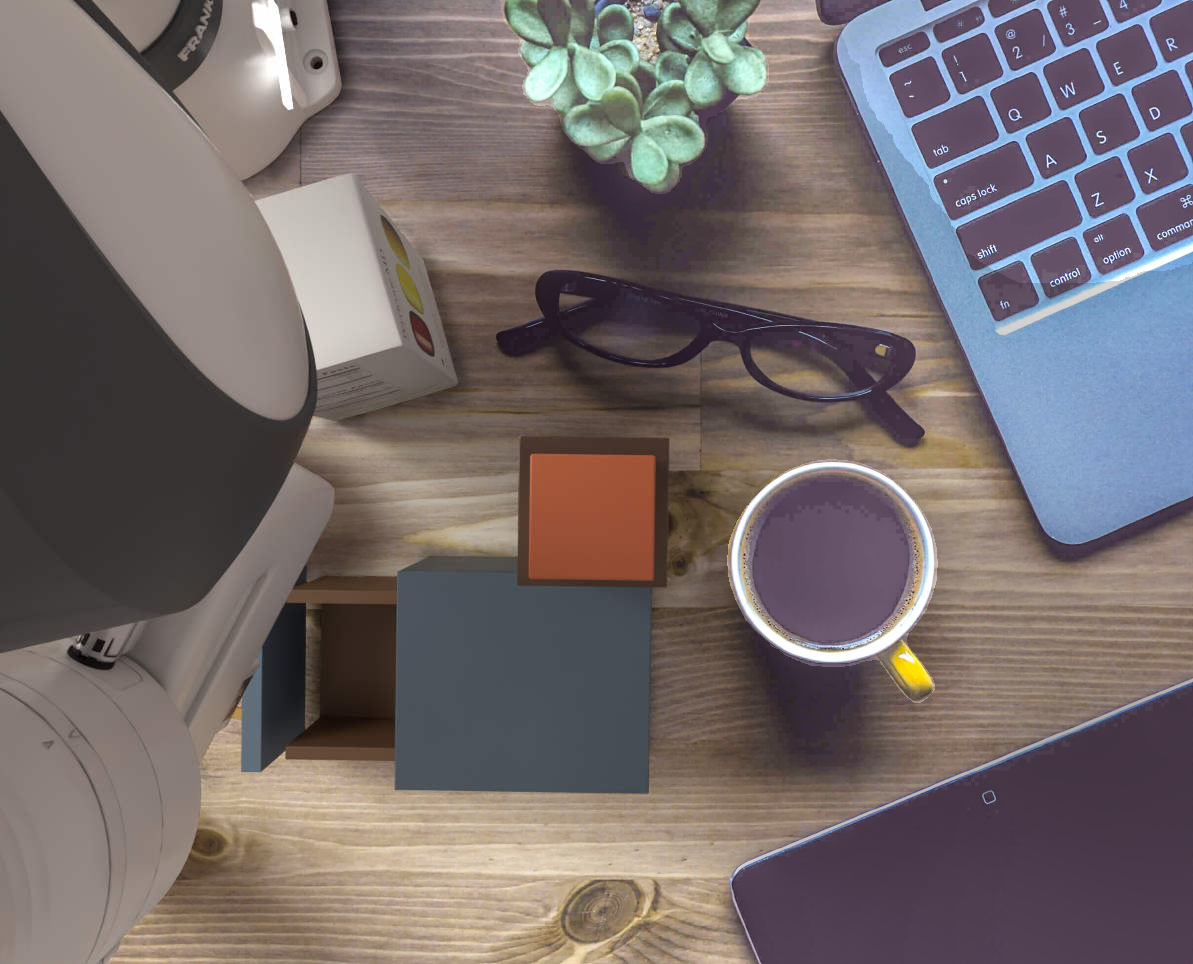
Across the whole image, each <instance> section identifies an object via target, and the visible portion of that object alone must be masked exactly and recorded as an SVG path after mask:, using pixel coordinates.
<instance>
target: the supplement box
mask: <svg viewBox="0 0 1193 964" xmlns="http://www.w3.org/2000/svg"><path fill="white" fill-rule="evenodd" d="M254 201H255V203H256V205H257V206H258V208H259V210H260V212H261V213H262V215H263V217H264V219H265V221H266V222H267V224H268V226H269V228H270V230H271V232H272V234H273V236H274V238H275V240H276V242H277V244H278V247H279V249H280V251H281V253H282V256H283V258H284V261H285V263H286V266H287V268H288V271H289V274H290V276H291V279H292V282H293V285H294V288H295V292H296V295H297V298H298V301H299V303H300V306H301V309H302V312H303V315H304V318H305V321H306V325H307V328H308V331H309V335H310V339H311V343H312V347H313V352H314V357H315V363H316V370H317V382H318V390H317V392H318V393H317V403H316V408H315V411H314V414H313V417H314V418H315V417H316V418H321V419H324V420H328V421H333V422H336V421H337V422H338V421H340V420H345V419H348V418H352V417H356V416H359V415H362V414H367V413H369V412H373V411H377V410H380V409H383V408H387V407H391V406H394V405H397V404H402V403H406V402H408V401H412V400H414V399H419V398H422V397H425V396H428V395H431V394H432V395H433V394H436V393H438V392H442V391H445V390H447V389H450V388H454V387H456V386H458V385H459V380H458V377H457V373H456V370H455V366H454V363H453V359H452V355H451V352H450V347H449V344H448V341H447V337H446V334H445V330H444V326H443V323H442V319H441V316H440V312H439V308H438V305H437V301H436V299H435V295H434V291H433V287H432V285H431V281H430V278H429V274H428V271H427V267H426V264H425V261H424V258H423V256H422V255H421V254H420V253H419V251H418V250H417V249H416V248H415V247H414V246H413V244H412V243H411V242H410V240H409V239H408V238H407V237H406V235H405V234H404V233H403V232H402V230H401V229H400V228H399V227H398V225H397V224H396V223H395V222H394V221H393V219H392V218H391V216H389V215H388V213H387V212H386V210H385V209H384V208H383V207H382V206H381V205H380V203H379V202H378V201H377V199H376V198H375V197H374V195H373V194H372V193H371V192H370V191H369V189H368V188H367V187H366V186H365V184H364V183H363V182H362V180H361V179H360V178H359V177H358V176H357V174H356V173H355V172H353V171H352V172H348V173H345V174H341V175H337V176H334V177H331V178H327V179H322V180H320V181H317V182H313V183H310V184H307V185H303V186H300V187H297V188H293V189H291V190H287V191H283V192H280V193H277V194H273V195H271V196H270V195H269V196H267V197H263V198H259V199H257V200H254Z"/></svg>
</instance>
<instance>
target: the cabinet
mask: <svg viewBox="0 0 1193 964" xmlns="http://www.w3.org/2000/svg"><path fill="white" fill-rule="evenodd" d="M517 557H518V556H480V555H479V556H477V555H475V556H474V555H473V556H470V555H469V556H468V555H429V556H427V557H424V558H422V559H420V560H418V561H416V562H414V563H412V564H410V565H408V566H406V567H403V568H402V569H399V570H397V571H396V576H397V629H396V715H395V761H394V790H395V791H431V792H432V791H433V792H434V791H435V792H436V791H437V792H439V791H440V792H443V791H444V792H496V793H497V792H500V793H558V794H559V793H562V794H563V793H565V794H566V793H567V794H569V793H570V794H623V795H624V794H625V795H626V794H627V795H628V794H631V795H634V794H635V795H648V794H649V793H650V743H651V741H650V738H651V737H650V736H651V735H650V734H651V680H652V679H651V677H652V675H651V672H652V670H651V668H652V665H651V664H652V608H653V607H652V603H653V600H652V599H653V598H652V597H653V588H637V587H567V586H518V585H517Z"/></svg>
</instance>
